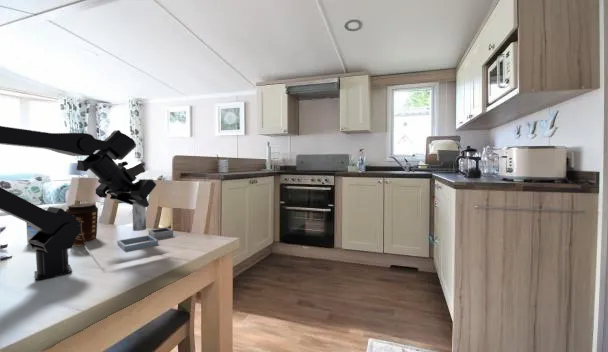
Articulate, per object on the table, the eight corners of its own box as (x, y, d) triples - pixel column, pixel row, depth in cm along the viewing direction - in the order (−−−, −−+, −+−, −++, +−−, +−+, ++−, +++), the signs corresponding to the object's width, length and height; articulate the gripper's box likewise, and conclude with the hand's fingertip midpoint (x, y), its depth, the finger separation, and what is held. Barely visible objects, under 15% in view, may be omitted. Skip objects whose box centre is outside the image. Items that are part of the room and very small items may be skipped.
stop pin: (149, 229, 88) (149, 183, 88) (133, 231, 85) (132, 184, 84) (145, 227, 91) (144, 182, 91) (129, 229, 88) (128, 183, 88)
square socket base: (180, 238, 98) (180, 229, 97) (155, 243, 92) (155, 234, 92) (170, 234, 104) (170, 225, 104) (147, 238, 98) (146, 229, 98)
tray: (158, 248, 87) (158, 240, 87) (124, 255, 81) (124, 246, 81) (149, 242, 93) (149, 235, 93) (117, 248, 87) (117, 240, 87)
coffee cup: (72, 241, 95) (70, 203, 95) (102, 238, 99) (100, 202, 98) (63, 248, 87) (61, 207, 87) (96, 245, 91) (94, 205, 90)
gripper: (150, 151, 80) (179, 187, 91) (104, 152, 87) (137, 186, 97) (125, 179, 73) (160, 215, 84) (77, 178, 79) (115, 211, 90)
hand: (143, 205), depth 89 cm, fingers closed on stop pin, 4 cm apart
